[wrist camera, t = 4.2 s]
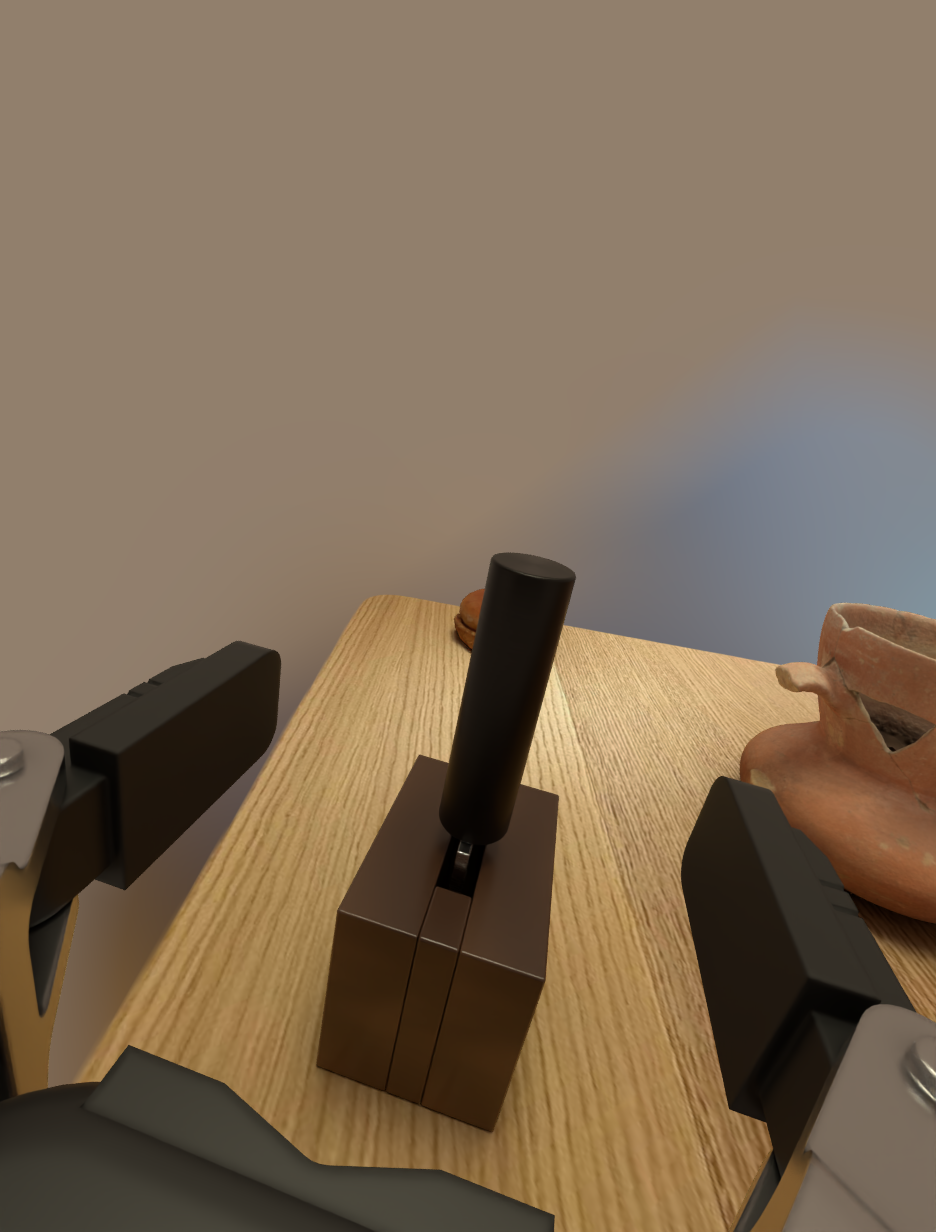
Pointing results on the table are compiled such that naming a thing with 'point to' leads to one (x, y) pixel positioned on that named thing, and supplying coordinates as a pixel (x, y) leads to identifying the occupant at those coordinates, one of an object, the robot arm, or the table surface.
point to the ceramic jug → (863, 755)
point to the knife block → (441, 955)
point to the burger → (469, 617)
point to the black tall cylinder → (502, 699)
